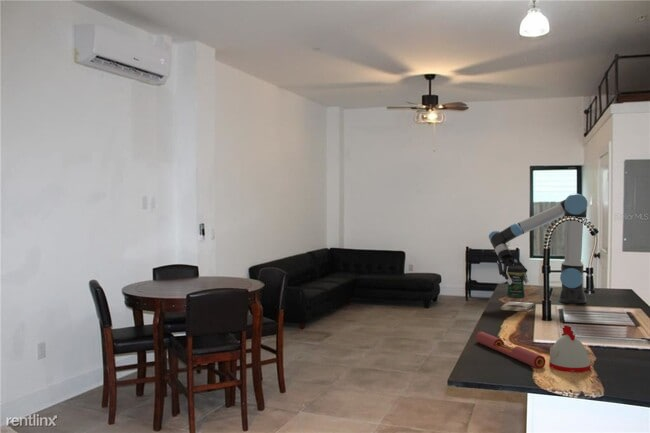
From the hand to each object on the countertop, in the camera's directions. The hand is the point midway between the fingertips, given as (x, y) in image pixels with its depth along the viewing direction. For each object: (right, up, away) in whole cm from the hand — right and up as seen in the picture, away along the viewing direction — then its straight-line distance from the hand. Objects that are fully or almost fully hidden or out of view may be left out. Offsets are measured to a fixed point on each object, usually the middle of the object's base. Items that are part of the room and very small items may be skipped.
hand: (519, 282), depth 321 cm
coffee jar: (-1, -9, +3) cm, 10 cm away
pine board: (0, -15, +3) cm, 15 cm away
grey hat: (-20, -18, -113) cm, 116 cm away
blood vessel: (-37, -18, -94) cm, 102 cm away
